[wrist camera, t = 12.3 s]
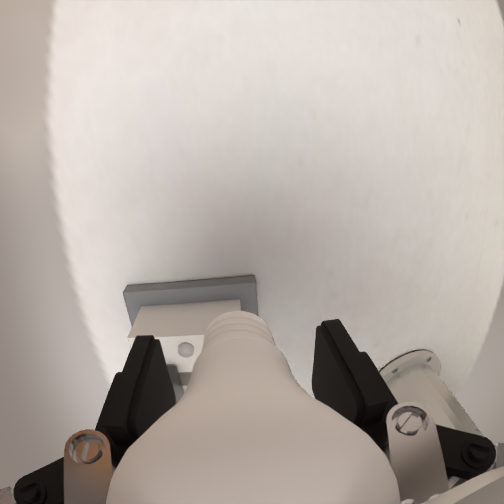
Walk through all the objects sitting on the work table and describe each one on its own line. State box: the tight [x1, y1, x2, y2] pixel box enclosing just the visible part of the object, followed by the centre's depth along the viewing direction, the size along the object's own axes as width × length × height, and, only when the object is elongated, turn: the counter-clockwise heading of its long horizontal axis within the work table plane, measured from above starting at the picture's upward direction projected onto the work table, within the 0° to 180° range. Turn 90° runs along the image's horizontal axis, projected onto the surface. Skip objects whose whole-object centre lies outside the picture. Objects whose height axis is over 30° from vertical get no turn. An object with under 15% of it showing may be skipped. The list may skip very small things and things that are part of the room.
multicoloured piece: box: [123, 275, 258, 393], centre depth 28 cm, size 24×12×7 cm, turn 3°
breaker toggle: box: [167, 366, 184, 404], centre depth 22 cm, size 4×2×7 cm, turn 3°
